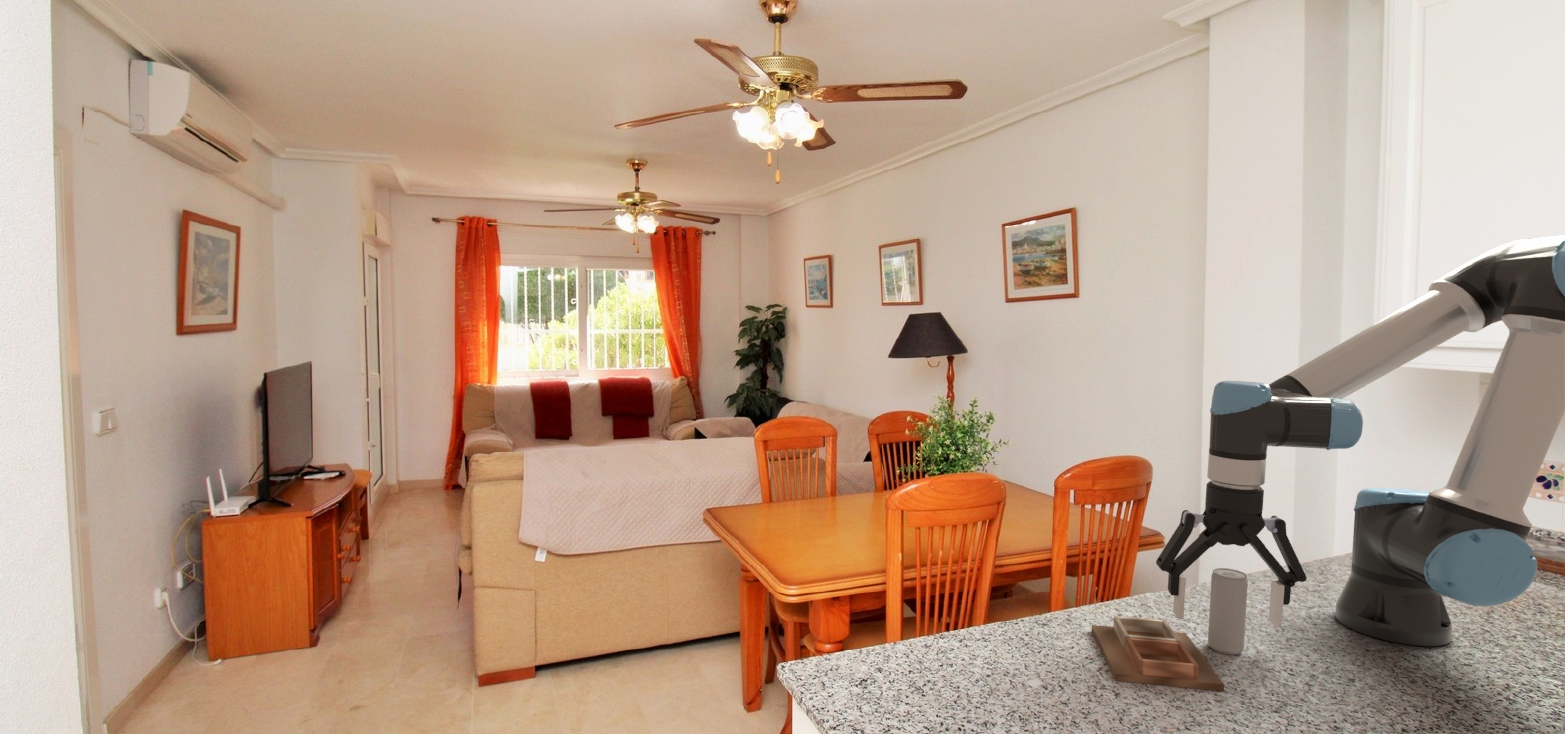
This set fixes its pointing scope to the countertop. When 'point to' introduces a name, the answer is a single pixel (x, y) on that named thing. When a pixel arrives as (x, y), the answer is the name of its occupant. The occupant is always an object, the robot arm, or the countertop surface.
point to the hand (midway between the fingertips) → (1226, 620)
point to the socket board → (1154, 655)
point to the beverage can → (1227, 611)
